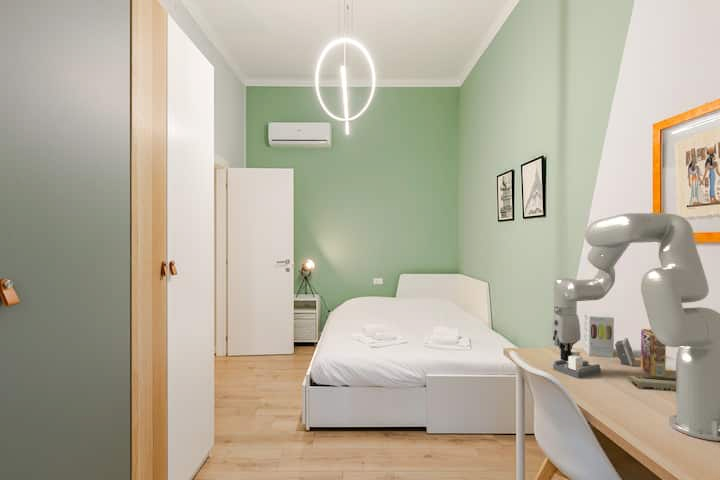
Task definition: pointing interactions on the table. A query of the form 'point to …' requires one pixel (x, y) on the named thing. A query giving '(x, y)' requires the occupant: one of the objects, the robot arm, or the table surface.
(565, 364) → the switch bank
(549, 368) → the table surface
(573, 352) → the tab
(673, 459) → the table surface
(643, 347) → the candy box
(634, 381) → the computer
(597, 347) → the supplement box
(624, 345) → the electrical switch
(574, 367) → the white block
